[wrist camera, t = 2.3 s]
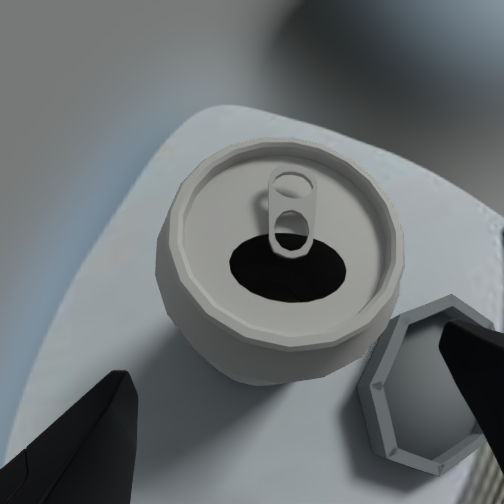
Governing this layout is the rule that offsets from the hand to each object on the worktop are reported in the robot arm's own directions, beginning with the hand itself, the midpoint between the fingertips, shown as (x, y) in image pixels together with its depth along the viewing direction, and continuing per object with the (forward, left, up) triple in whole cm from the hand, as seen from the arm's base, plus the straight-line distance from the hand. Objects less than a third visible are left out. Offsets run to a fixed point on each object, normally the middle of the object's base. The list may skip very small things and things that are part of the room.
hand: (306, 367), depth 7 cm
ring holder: (+5, -11, -10) cm, 16 cm away
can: (+3, +2, -11) cm, 11 cm away
